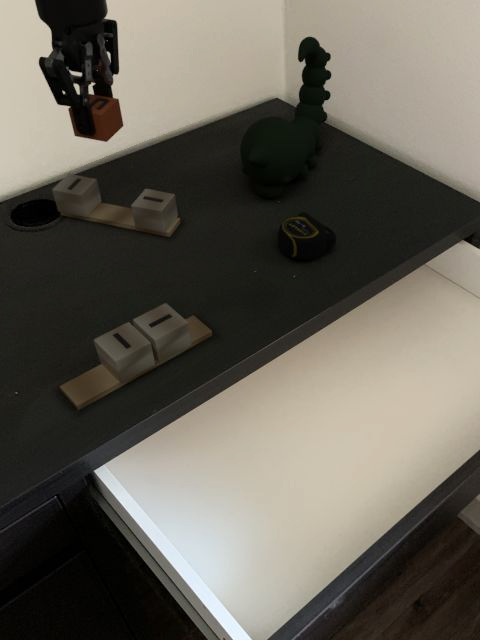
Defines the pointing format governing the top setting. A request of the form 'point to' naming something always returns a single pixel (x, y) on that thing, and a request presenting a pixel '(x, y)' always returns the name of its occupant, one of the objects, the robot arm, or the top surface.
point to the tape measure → (305, 237)
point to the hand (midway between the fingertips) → (97, 123)
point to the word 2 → (135, 352)
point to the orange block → (102, 117)
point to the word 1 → (117, 207)
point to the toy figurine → (289, 130)
